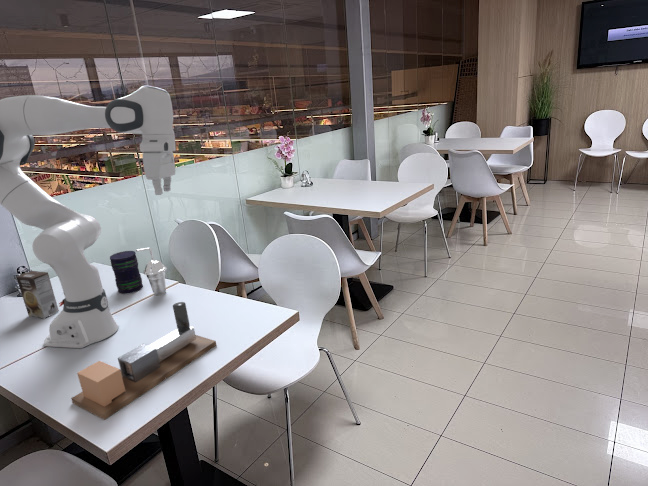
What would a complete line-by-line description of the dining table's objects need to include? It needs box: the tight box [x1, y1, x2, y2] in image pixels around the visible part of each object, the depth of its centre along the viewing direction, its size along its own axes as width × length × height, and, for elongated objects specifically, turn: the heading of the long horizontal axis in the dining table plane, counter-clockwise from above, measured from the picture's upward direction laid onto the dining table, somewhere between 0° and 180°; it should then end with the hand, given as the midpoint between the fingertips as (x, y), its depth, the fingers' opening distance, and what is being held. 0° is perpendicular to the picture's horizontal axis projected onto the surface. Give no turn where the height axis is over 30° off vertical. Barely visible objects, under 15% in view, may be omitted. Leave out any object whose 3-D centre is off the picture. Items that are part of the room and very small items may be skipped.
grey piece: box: [125, 301, 196, 375], centre depth 129 cm, size 21×4×12 cm, turn 147°
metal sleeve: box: [117, 343, 161, 383], centre depth 125 cm, size 8×6×6 cm
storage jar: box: [109, 250, 144, 295], centre depth 187 cm, size 10×10×15 cm
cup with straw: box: [135, 247, 168, 297], centre depth 178 cm, size 8×9×20 cm
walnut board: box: [70, 334, 217, 421], centre depth 128 cm, size 37×14×2 cm, turn 147°
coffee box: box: [15, 270, 60, 319], centre depth 170 cm, size 9×6×16 cm
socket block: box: [76, 360, 125, 407], centre depth 116 cm, size 6×9×7 cm, turn 57°
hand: (163, 193), depth 136 cm, fingers open, 8 cm apart
